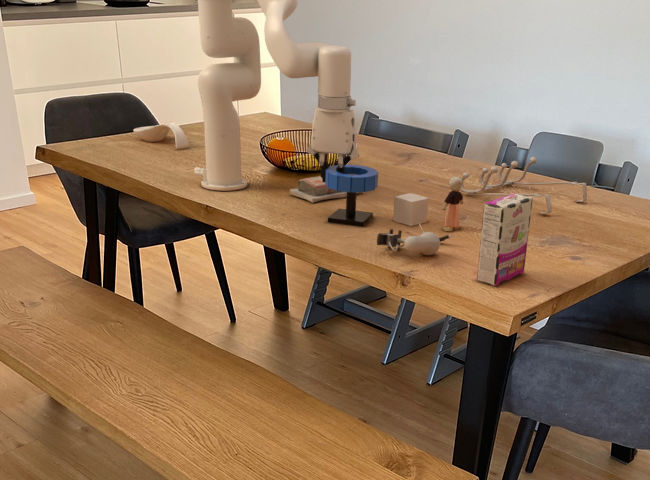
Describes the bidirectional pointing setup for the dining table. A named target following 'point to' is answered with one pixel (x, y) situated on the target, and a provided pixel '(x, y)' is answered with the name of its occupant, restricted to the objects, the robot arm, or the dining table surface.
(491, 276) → the candy bar box
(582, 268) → the dining table surface
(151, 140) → the spoon rest
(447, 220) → the grandmother figurine
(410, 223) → the white cube
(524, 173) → the over door rack
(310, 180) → the packaged product
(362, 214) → the peg stand
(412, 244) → the clip-on lamp
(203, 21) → the robot arm
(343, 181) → the tape
